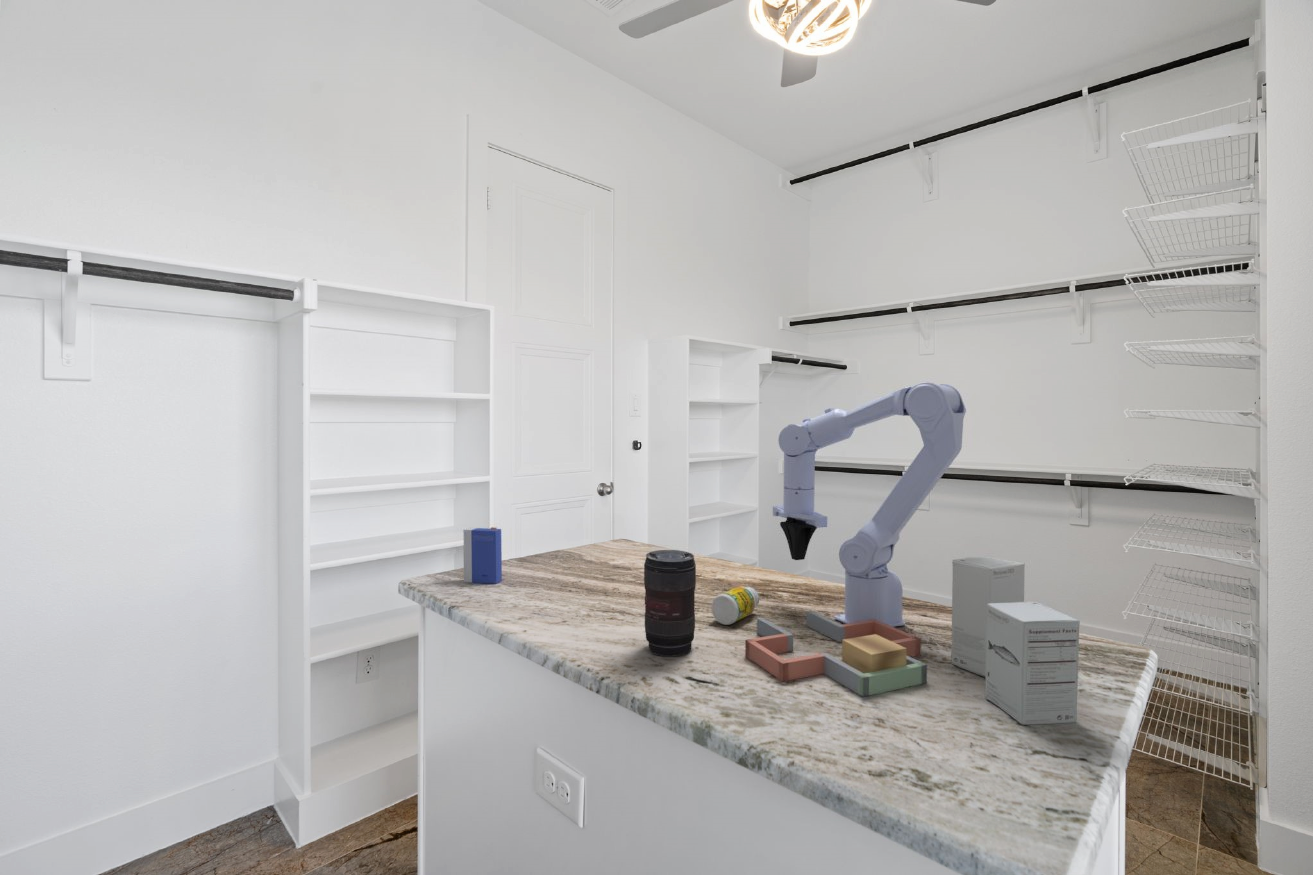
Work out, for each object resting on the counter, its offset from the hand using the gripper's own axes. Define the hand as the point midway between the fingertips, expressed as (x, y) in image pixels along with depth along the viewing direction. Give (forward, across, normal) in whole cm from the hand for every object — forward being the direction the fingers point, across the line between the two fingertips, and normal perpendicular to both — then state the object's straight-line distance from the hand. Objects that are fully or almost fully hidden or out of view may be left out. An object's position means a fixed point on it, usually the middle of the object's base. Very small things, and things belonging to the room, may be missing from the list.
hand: (798, 559), depth 119 cm
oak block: (+9, +31, -10) cm, 34 cm away
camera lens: (+10, +10, -31) cm, 34 cm away
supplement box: (+9, +46, +1) cm, 47 cm away
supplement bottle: (+7, +3, -18) cm, 20 cm away
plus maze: (+9, +22, -9) cm, 26 cm away
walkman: (+10, -44, -52) cm, 69 cm away
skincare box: (+9, +34, +8) cm, 36 cm away
